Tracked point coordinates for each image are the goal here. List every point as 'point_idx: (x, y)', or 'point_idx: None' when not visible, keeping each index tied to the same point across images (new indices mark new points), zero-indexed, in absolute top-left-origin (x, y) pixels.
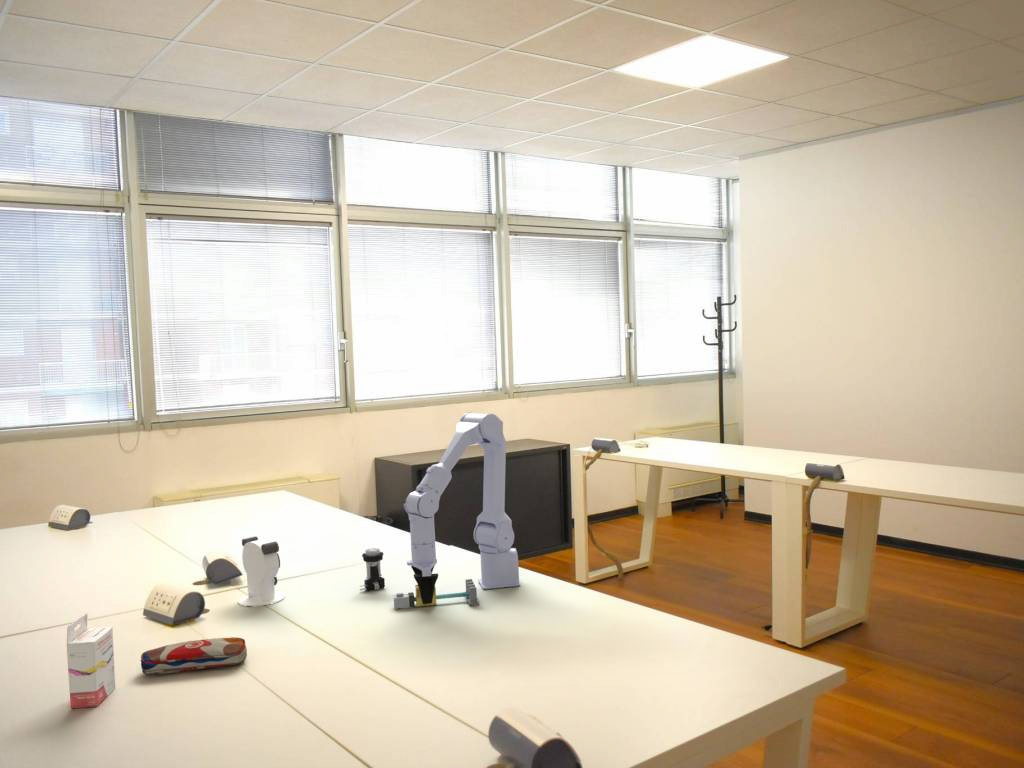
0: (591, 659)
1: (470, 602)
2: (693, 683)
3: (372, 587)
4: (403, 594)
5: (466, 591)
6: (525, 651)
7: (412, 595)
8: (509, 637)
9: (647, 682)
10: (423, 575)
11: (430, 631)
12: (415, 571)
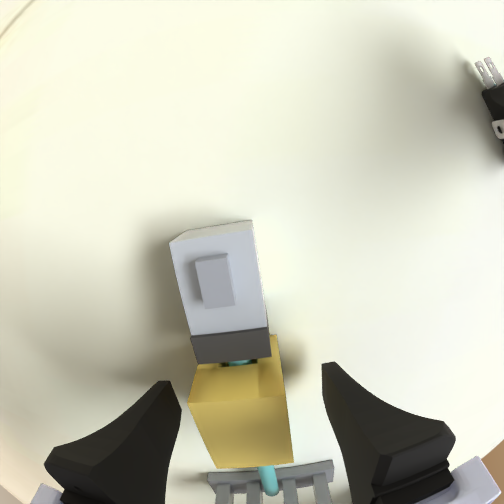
0: (21, 480)
1: (208, 482)
2: (18, 494)
3: (498, 111)
4: (252, 298)
5: (313, 479)
6: (6, 451)
7: (202, 356)
8: (36, 461)
9: (5, 479)
10: (40, 489)
11: (3, 359)
12: (367, 446)
